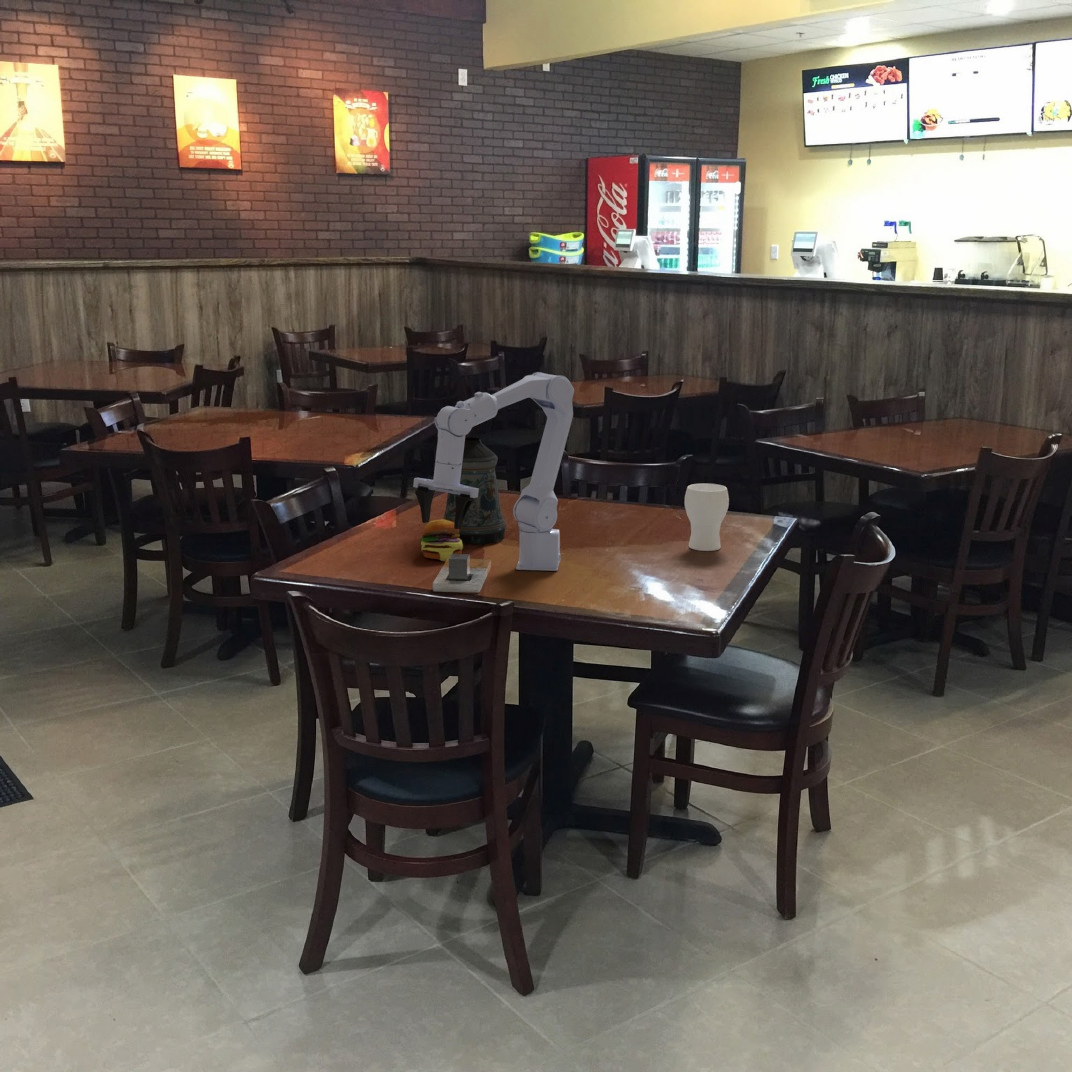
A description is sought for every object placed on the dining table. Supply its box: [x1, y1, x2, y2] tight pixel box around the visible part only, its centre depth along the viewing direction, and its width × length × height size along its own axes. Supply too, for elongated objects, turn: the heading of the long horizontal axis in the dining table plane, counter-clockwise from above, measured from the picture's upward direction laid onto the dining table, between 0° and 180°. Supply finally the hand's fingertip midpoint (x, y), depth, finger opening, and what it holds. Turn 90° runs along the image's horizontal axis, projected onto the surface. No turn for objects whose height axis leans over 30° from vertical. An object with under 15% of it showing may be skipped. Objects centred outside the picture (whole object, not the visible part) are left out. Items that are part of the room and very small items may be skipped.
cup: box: [684, 483, 730, 552], centre depth 275 cm, size 11×11×15 cm
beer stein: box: [442, 436, 507, 546], centre depth 284 cm, size 16×19×25 cm
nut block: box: [449, 553, 471, 581], centre depth 245 cm, size 4×4×6 cm
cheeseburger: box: [420, 518, 464, 563], centre depth 268 cm, size 10×11×10 cm
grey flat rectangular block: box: [432, 558, 492, 594], centre depth 250 cm, size 10×20×2 cm, turn 175°
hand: (441, 525), depth 244 cm, fingers open, 7 cm apart
